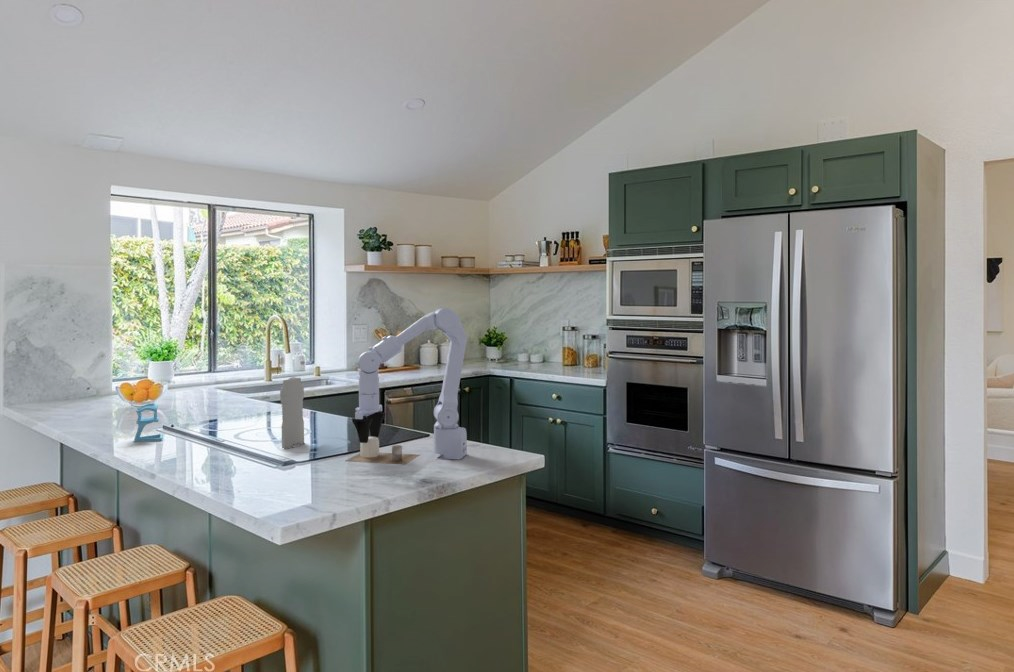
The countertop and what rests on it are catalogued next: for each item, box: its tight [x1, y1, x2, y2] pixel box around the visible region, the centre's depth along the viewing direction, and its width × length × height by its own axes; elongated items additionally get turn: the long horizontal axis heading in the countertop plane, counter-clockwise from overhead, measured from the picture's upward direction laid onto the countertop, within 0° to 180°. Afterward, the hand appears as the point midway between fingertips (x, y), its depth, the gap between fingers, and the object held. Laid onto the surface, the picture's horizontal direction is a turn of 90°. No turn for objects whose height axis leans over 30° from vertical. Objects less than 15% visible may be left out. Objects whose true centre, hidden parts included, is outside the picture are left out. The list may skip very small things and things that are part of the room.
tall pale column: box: [279, 376, 305, 449], centre depth 224 cm, size 11×4×22 cm, turn 156°
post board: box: [345, 444, 420, 466], centre depth 202 cm, size 18×12×6 cm, turn 77°
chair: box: [133, 403, 163, 443], centre depth 234 cm, size 8×8×12 cm
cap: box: [359, 436, 380, 457], centre depth 205 cm, size 5×5×5 cm
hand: (369, 439), depth 205 cm, fingers open, 7 cm apart
